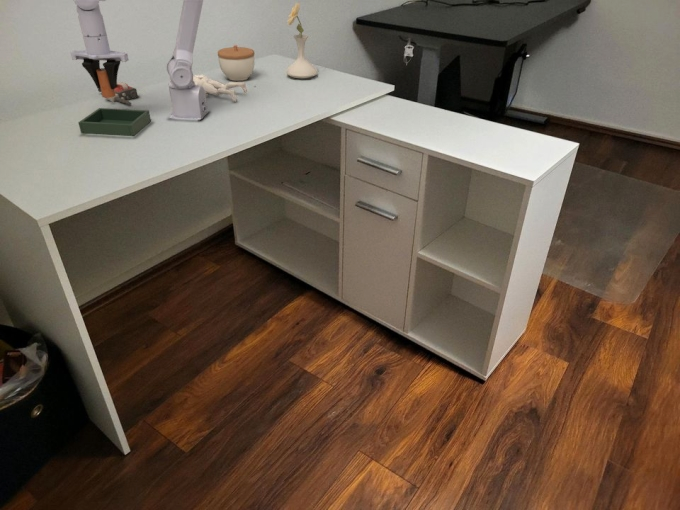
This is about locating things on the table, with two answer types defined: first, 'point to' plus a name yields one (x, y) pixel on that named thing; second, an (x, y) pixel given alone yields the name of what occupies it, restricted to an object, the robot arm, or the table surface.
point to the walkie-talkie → (123, 93)
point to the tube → (105, 83)
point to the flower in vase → (300, 51)
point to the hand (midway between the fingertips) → (107, 87)
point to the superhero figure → (217, 86)
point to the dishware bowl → (236, 62)
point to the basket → (115, 122)
